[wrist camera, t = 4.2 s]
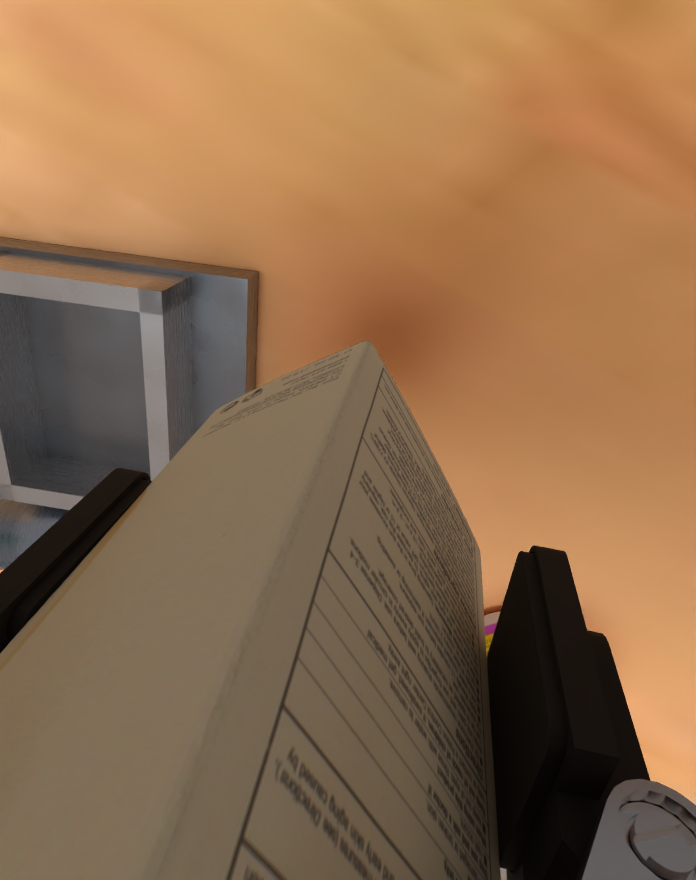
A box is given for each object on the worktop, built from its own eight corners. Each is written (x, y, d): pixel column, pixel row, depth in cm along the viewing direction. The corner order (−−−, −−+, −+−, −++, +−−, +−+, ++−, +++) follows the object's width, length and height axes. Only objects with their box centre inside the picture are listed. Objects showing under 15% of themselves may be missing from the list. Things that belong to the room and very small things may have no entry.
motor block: (258, 271, 22) (198, 314, 16) (250, 550, 28) (204, 652, 23) (-33, 232, 23) (-188, 259, 17) (21, 512, 29) (-78, 601, 23)
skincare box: (212, 406, 13) (-805, 1423, 3) (375, 330, 12) (-461, 1976, 1) (338, 606, 15) (55, 1633, 5) (491, 563, 14) (587, 1930, 3)
